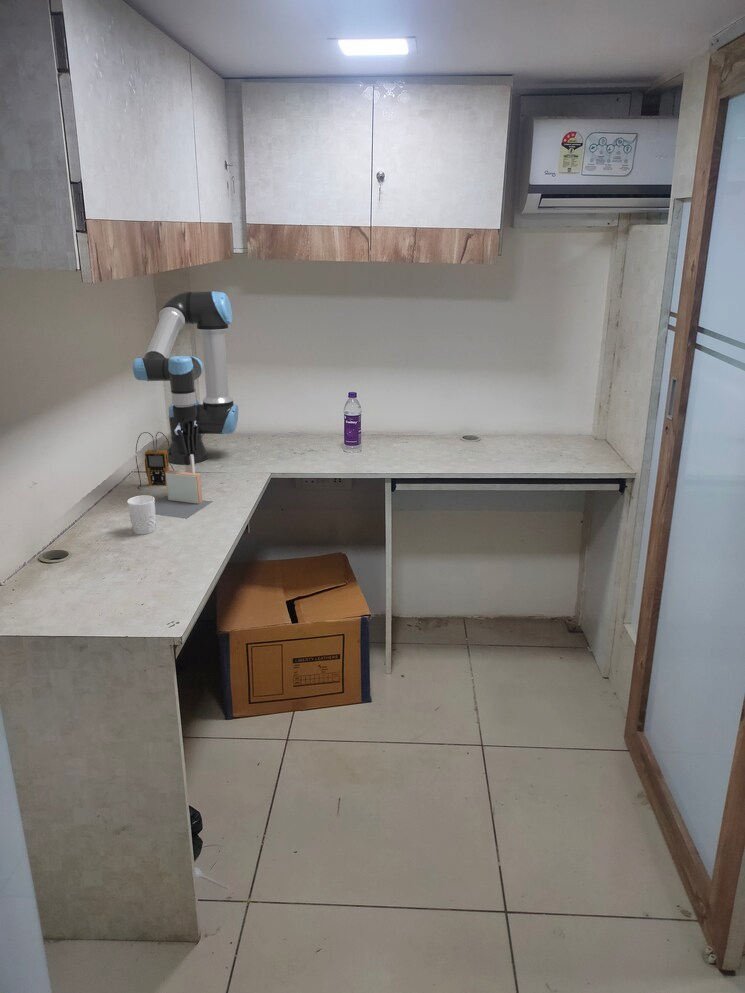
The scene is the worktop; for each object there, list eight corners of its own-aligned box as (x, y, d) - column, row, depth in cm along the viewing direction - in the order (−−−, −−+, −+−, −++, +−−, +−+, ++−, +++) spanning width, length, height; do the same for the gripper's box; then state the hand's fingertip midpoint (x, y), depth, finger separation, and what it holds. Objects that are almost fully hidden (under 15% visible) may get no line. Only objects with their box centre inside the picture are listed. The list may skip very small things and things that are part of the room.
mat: (166, 497, 246) (166, 495, 245) (212, 503, 240) (212, 501, 240) (138, 513, 231) (138, 512, 231) (187, 520, 226) (186, 518, 226)
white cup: (127, 529, 219) (123, 499, 216) (151, 523, 224) (148, 493, 220) (137, 537, 213) (133, 506, 210) (162, 531, 218) (158, 500, 215)
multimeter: (131, 494, 249) (124, 438, 242) (141, 484, 258) (134, 430, 251) (173, 494, 248) (167, 438, 241) (181, 484, 258) (176, 431, 251)
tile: (171, 498, 243) (168, 470, 240) (202, 502, 240) (200, 473, 236) (167, 500, 241) (164, 472, 238) (198, 504, 238) (196, 475, 234)
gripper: (185, 399, 240) (191, 466, 248) (162, 408, 229) (170, 477, 237) (204, 401, 238) (210, 468, 246) (183, 409, 226) (189, 480, 235)
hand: (190, 473), depth 241 cm, fingers closed
